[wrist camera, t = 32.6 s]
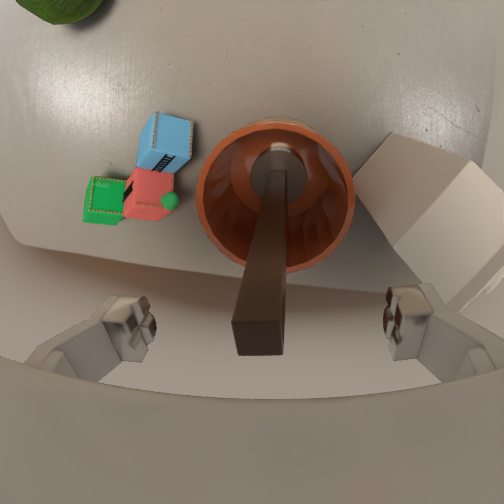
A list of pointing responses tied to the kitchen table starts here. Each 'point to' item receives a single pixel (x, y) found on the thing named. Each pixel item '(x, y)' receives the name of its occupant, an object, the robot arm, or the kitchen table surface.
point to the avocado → (60, 9)
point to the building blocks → (144, 176)
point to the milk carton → (437, 216)
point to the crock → (298, 212)
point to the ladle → (268, 254)
